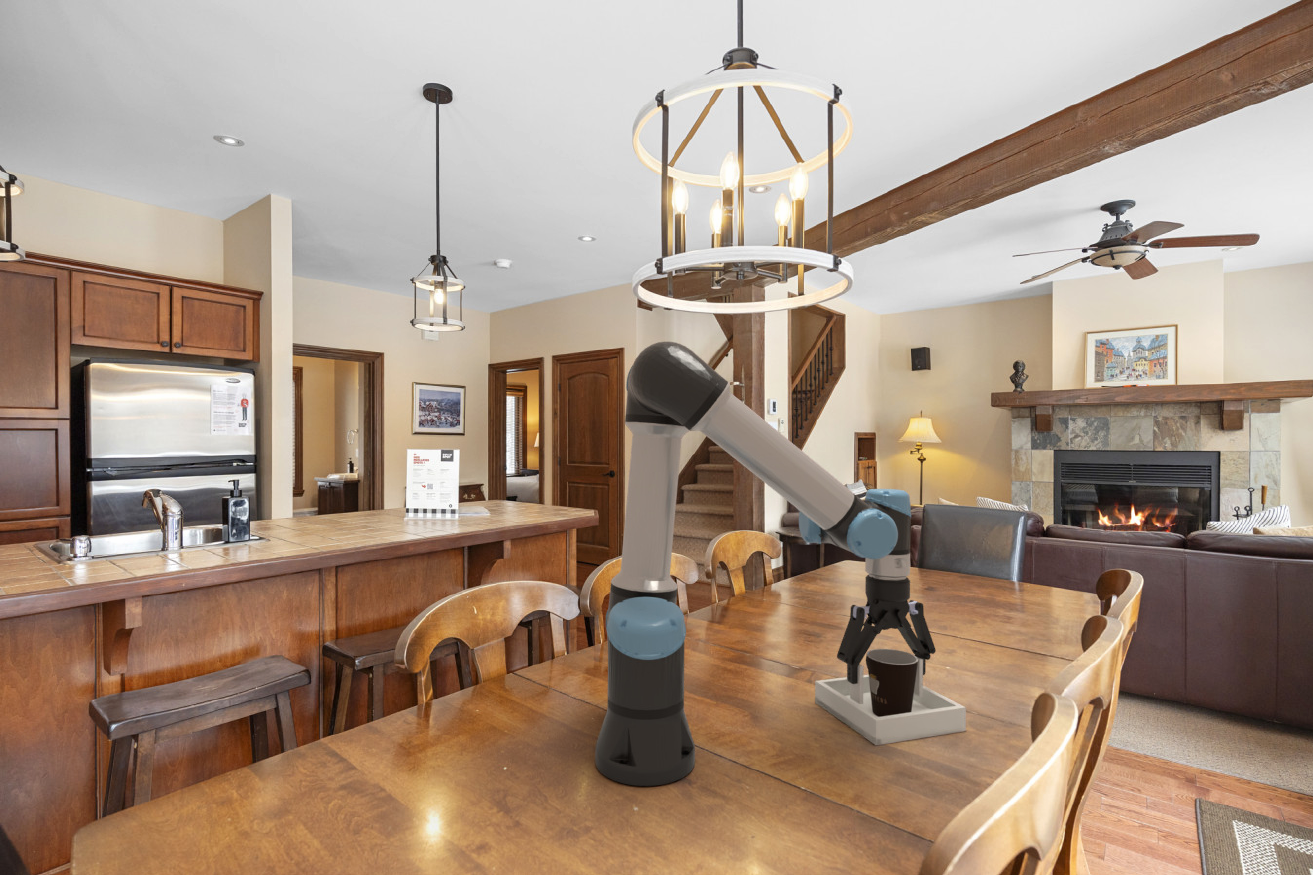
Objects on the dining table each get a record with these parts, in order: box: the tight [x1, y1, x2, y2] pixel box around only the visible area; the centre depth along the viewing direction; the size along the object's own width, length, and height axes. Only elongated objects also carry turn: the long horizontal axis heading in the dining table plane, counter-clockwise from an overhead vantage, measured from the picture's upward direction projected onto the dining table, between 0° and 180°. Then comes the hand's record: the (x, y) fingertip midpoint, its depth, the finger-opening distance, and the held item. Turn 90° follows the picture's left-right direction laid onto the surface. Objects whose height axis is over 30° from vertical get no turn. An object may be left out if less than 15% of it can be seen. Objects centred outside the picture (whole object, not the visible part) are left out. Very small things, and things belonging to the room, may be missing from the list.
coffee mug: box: [865, 648, 918, 717], centre depth 115 cm, size 12×9×10 cm
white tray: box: [814, 674, 967, 746], centre depth 115 cm, size 18×18×4 cm
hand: (886, 697), depth 115 cm, fingers open, 12 cm apart
